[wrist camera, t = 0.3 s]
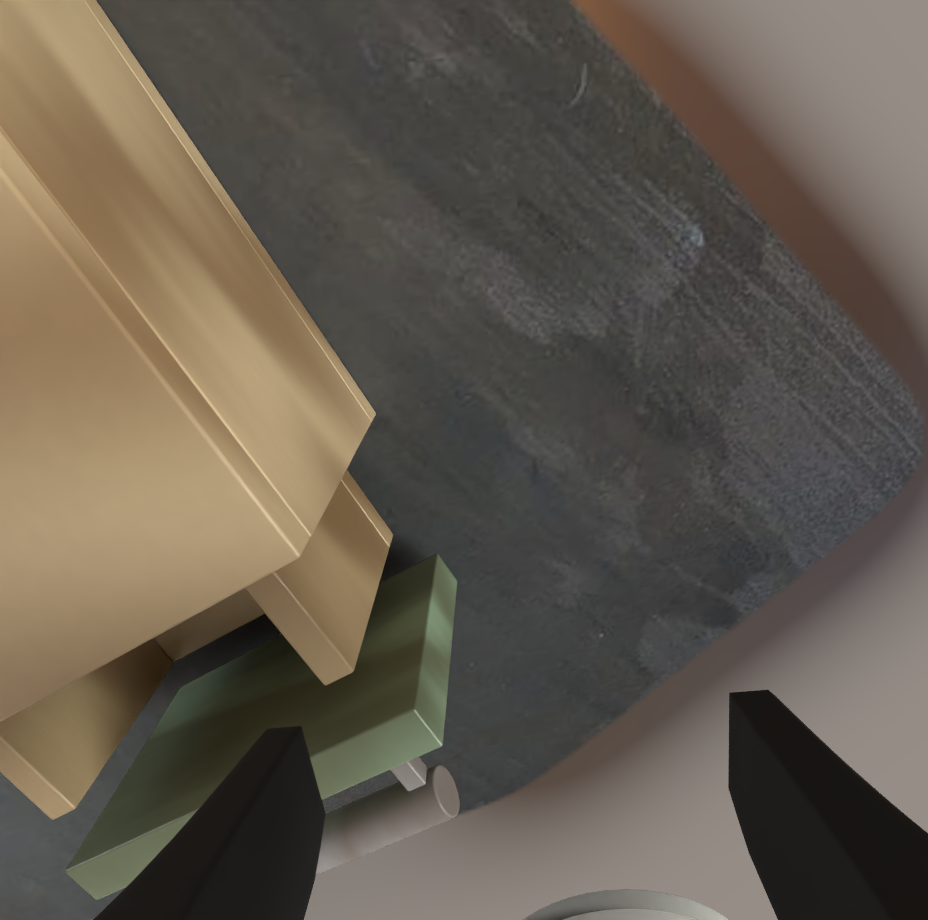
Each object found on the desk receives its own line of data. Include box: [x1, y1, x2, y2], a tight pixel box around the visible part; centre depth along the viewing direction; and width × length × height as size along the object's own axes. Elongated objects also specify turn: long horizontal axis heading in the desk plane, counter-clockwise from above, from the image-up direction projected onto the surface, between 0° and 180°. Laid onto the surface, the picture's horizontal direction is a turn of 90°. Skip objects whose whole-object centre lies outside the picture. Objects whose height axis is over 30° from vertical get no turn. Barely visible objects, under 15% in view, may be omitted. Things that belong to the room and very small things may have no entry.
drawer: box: [0, 470, 459, 900], centre depth 18 cm, size 17×10×7 cm, turn 31°
